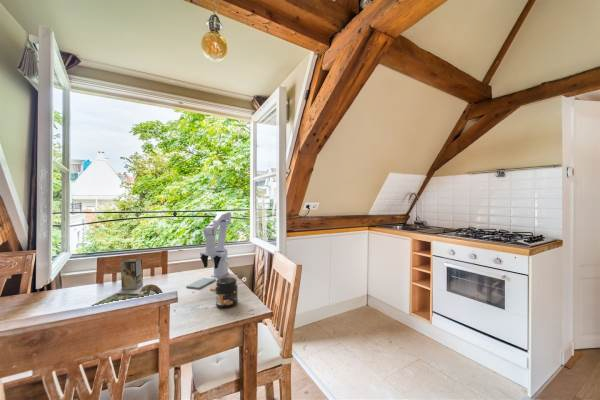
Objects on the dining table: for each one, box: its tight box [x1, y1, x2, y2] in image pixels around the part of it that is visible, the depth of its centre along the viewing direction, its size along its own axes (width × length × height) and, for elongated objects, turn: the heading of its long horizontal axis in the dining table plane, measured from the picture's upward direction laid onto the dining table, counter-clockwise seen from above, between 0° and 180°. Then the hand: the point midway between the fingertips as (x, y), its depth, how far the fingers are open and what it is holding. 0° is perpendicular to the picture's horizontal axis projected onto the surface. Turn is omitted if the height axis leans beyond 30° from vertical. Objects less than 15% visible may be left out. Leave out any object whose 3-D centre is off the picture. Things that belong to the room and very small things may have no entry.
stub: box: [209, 276, 226, 292], centre depth 147 cm, size 15×5×5 cm, turn 163°
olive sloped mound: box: [90, 283, 164, 306], centre depth 127 cm, size 33×8×20 cm
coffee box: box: [120, 258, 144, 290], centre depth 148 cm, size 9×6×16 cm
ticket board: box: [186, 277, 216, 290], centre depth 152 cm, size 15×9×1 cm, turn 163°
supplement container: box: [215, 276, 239, 309], centre depth 123 cm, size 10×10×12 cm
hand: (211, 267), depth 154 cm, fingers open, 7 cm apart
